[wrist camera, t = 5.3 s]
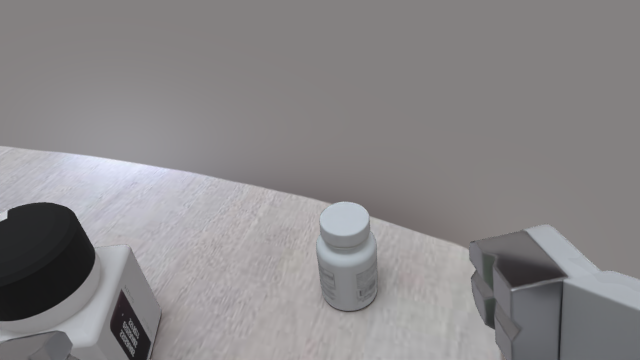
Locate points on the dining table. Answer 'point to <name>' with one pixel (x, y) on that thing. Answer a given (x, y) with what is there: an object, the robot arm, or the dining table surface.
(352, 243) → the pill bottle
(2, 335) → the container
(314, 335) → the dining table surface
